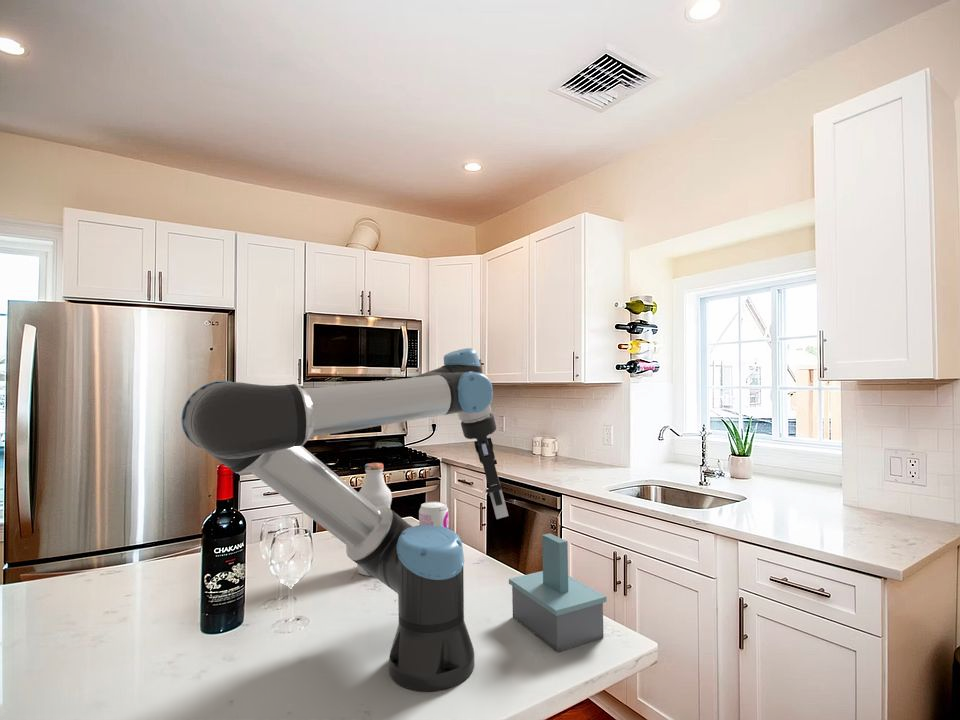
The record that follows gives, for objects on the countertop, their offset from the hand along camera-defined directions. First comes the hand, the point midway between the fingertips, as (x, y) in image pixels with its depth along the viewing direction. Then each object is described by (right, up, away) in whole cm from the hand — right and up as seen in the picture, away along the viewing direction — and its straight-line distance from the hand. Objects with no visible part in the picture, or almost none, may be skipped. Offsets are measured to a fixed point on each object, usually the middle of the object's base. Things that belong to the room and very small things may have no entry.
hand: (499, 504), depth 120 cm
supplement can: (-17, -23, +27) cm, 39 cm away
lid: (+11, -14, -13) cm, 22 cm away
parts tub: (+11, -21, -14) cm, 28 cm away
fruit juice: (-32, -23, +19) cm, 44 cm away
